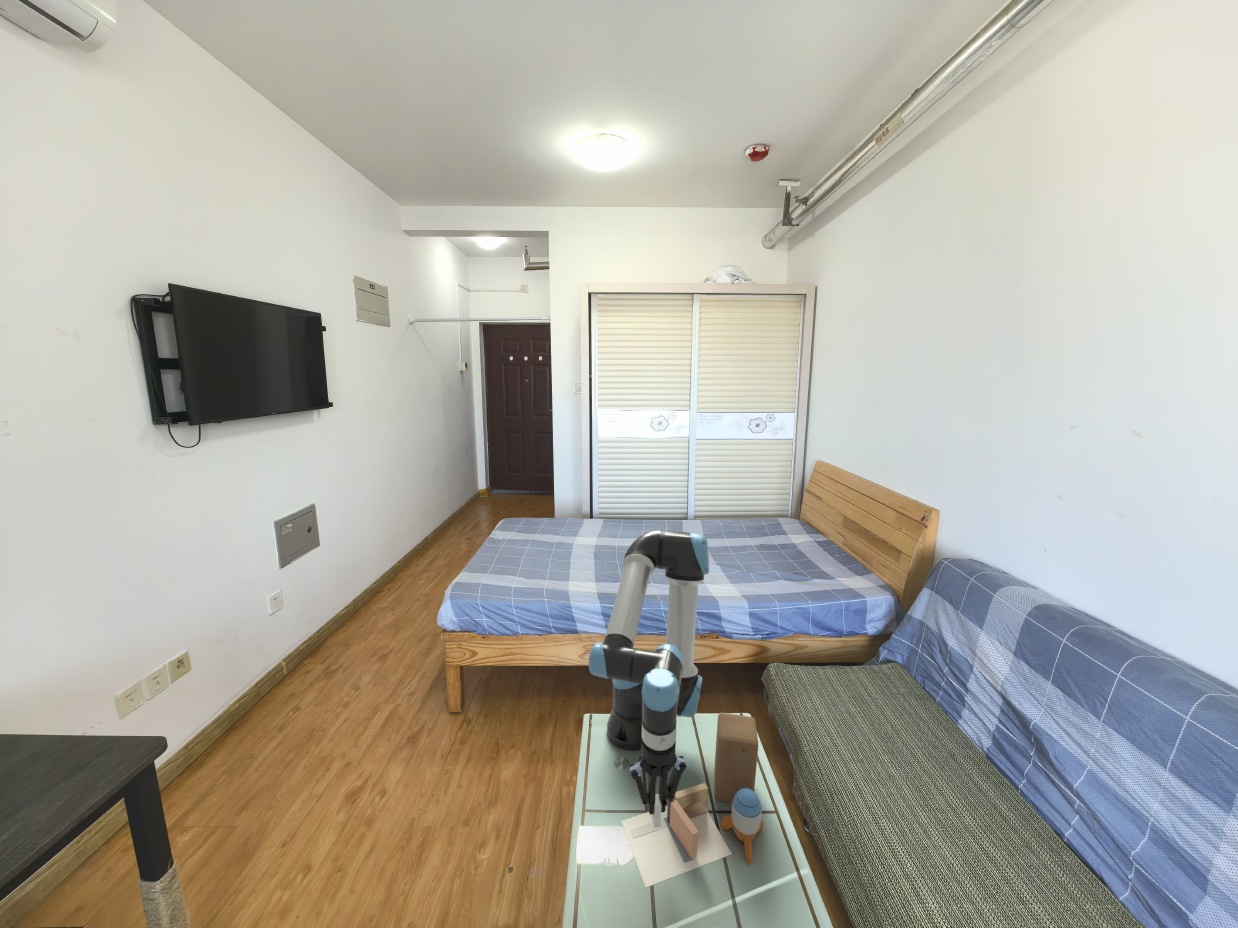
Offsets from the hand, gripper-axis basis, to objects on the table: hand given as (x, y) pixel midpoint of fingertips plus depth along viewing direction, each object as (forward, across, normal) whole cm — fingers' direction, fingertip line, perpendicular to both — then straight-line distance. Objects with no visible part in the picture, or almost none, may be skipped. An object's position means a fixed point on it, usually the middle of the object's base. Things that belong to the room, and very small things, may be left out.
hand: (656, 821), depth 107 cm
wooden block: (+10, +25, +13) cm, 30 cm away
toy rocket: (+10, +23, -1) cm, 25 cm away
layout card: (+9, +5, +2) cm, 11 cm away
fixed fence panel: (+9, +10, +7) cm, 15 cm away
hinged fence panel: (+8, +7, +1) cm, 11 cm away
